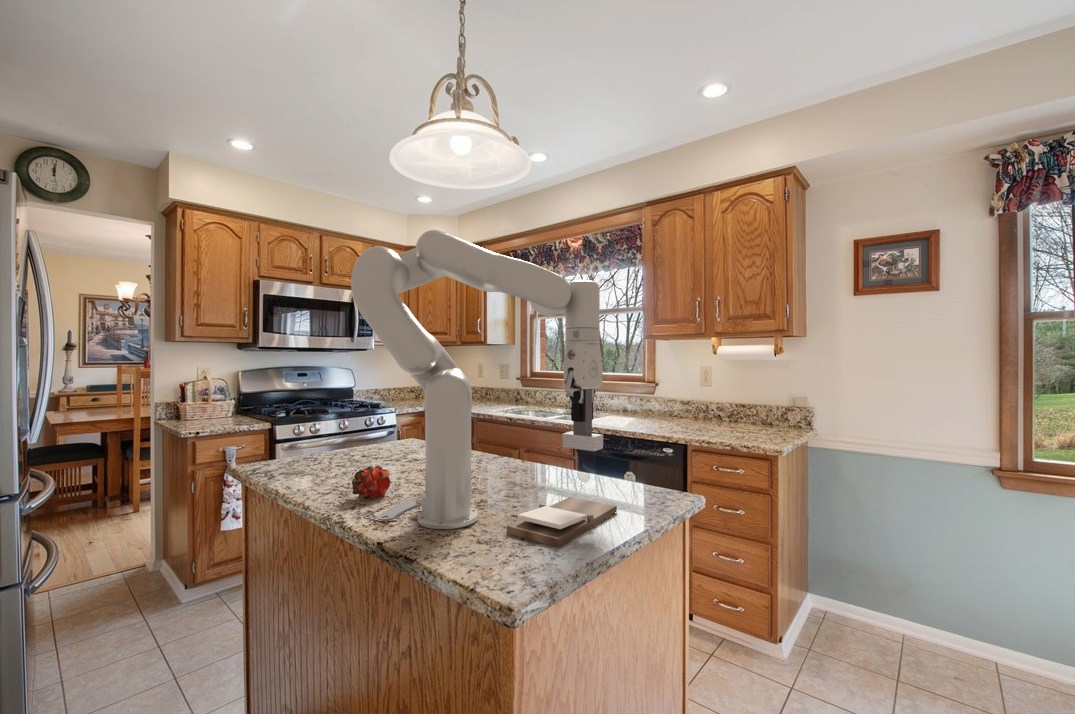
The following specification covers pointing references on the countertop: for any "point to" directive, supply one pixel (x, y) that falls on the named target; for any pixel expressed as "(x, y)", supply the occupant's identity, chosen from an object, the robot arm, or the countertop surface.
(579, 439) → the rubber stamp
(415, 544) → the countertop surface
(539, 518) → the tile
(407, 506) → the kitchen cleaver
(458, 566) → the countertop surface
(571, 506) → the board
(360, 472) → the dragon fruit
